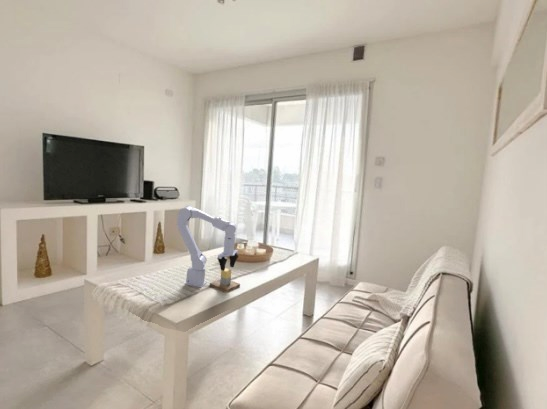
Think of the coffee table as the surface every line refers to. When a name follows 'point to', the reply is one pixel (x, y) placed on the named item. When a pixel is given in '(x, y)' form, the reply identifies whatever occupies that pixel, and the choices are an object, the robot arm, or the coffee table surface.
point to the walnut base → (224, 288)
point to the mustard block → (226, 273)
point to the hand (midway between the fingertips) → (227, 268)
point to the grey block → (225, 281)
